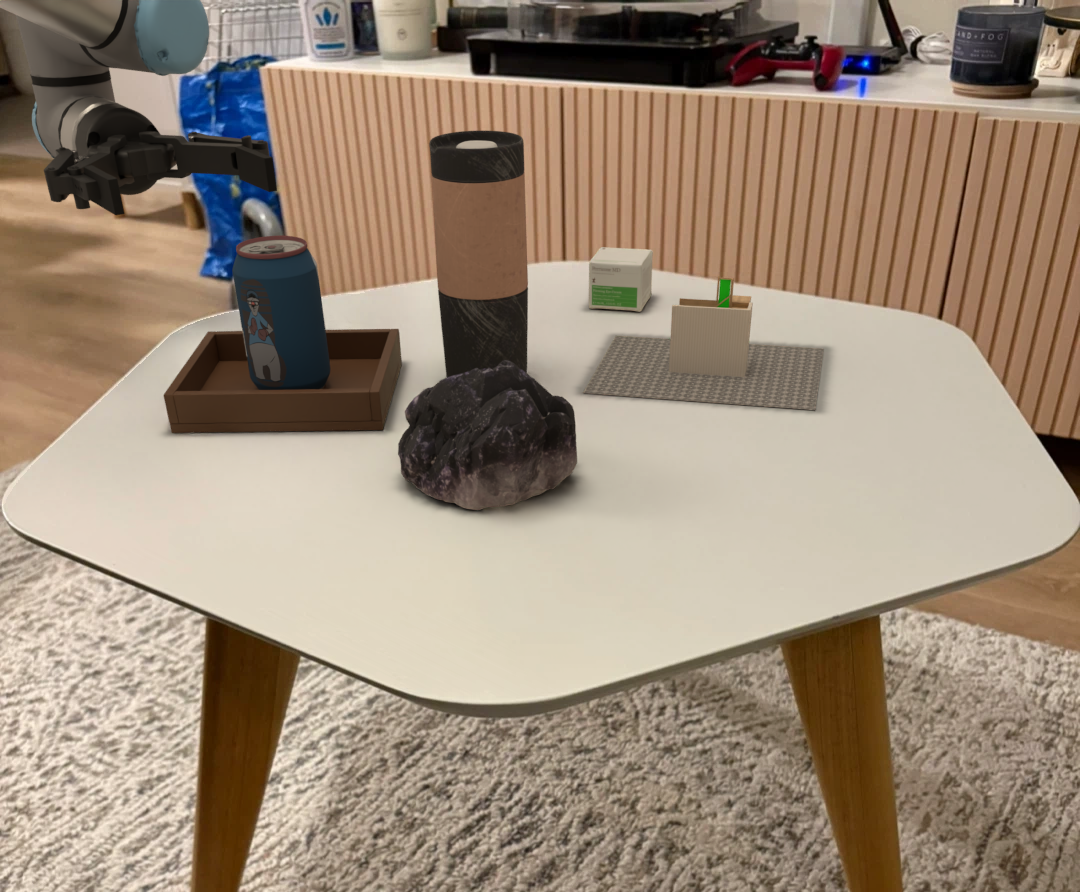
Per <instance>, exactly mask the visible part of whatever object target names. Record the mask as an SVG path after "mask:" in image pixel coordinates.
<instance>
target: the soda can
mask: <svg viewBox="0 0 1080 892" xmlns="http://www.w3.org/2000/svg"><path fill="white" fill-rule="evenodd" d="M235 250H236V256H235V258H234V262H233V266H232V269H231V271H232V278H233V283H234V290H235V295H236V301H237V307H238V314H239V318H240V319H239V320H240V325H241V329H242V330H241V331H242V332H243V338H244V344H245V350H246V356H247V362H248V368H249V374H250V378H251V380H252V382H253V383H254V384H255V386H256V387H257V388H258V389H259V390H303V389H323V388H324V386H325V384H326V382H327V379H328V377H329V374H330V370H331V369H330V361H329V353H328V346H327V338H326V330H327V329H326V323H325V315H324V309H323V308H324V307H323V301H322V300H323V299H322V293H321V291H322V290H321V284H320V277H319V276H320V275H319V269H318V268H319V267H318V262H317V261H316V259H315V257H314V256H313V254H312V253H311V251H310V250H309V248H308V242H307V241H306V239H304V238H301V237H298V236H292V235H268V236H267V235H266V236H259V237H258V236H257V237H254V238H250V239H247V240H243V241H241V242H239V243H238V244H237V245H236V246H235Z"/></svg>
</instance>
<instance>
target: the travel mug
mask: <svg viewBox="0 0 1080 892" xmlns="http://www.w3.org/2000/svg"><path fill="white" fill-rule="evenodd" d="M428 146H429V155H430V157H429V159H430V172H431V190H432V193H431V194H432V207H433V208H432V209H433V211H432V212H433V226H434V227H433V228H434V243H435V244H434V245H435V247H434V248H435V262H436V263H435V264H436V281H437V282H436V283H437V289H438V290H437V293H438V304H439V313H440V314H439V315H440V325H441V336H442V347H443V357H444V367H445V376H446V377H445V378H447V377H450V376H453V375H457V374H461V373H465V372H468V371H471V370H473V369H475V368H478V369H479V370H480V369H484V368H487V369H488V367H489V368H490V369H493V368H495V367H496V366H498V364H499V363H501V362H502V361H503V360H509V361H511V362H513V363H514V364H515V365H517V366H518V367H519V368H520V369H521V370H523V371H525V372H526V373H527V374H528V333H529V331H528V329H529V327H528V326H529V322H528V321H529V319H528V318H529V287H528V285H529V276H528V275H529V274H528V273H529V271H528V241H527V237H528V236H527V211H526V208H527V207H526V205H527V204H526V177H525V176H526V173H525V144H524V139H523V137H522V136H521V135H519V134H517V133H514V132H509V131H500V130H463V131H461V130H460V131H454V132H447V133H443V134H439V135H436V136H433V137H432V138H431V139H430V140H429V143H428Z"/></svg>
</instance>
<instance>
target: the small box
mask: <svg viewBox="0 0 1080 892" xmlns="http://www.w3.org/2000/svg"><path fill="white" fill-rule="evenodd" d="M653 255H654V251H653V250H652V249H645V248H627V247H625V248H624V247H609V246H601V247H599V249H598V250H597V252H596V253H595V254H594V255H593V257H592V258H590V260H589V263H588V265H589V266H588V308H589V309H593V310H595V309H601V310H602V309H603V310H616V311H617V310H619V311H633V312H640V313H641V312H642V310H643V309H644V307H645V306H646V304H647V302H648V301H649V300H650V298H651V296H652V290H653V289H652V286H653V285H652V281H653V260H654V259H653Z"/></svg>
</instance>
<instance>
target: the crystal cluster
mask: <svg viewBox="0 0 1080 892" xmlns="http://www.w3.org/2000/svg"><path fill="white" fill-rule="evenodd" d="M404 415H405V419H406V421H407V424H408V427H407V429H406V430H405V431H404V432H403V434H402V436H401V437H400V439H399V441H398V444H397V455H398V458H399V461H400V474H401V475H402V477H403V478H404V479H405V481H408V482H409V483H411V484H412V485H414V486H415V487H416V489H418V490H420V491H421V492H422V493H423V494H425V495H427V496H430V497H431V498H434V499H435V500H440V501H443V502H445V503H450V504H451V503H452V504H456V506H459V507H460V508H464V509H467V510H474V511H481V510H483V509H486V508H497V507H506V506H510V505H515V504H518V503H519V502H521V501H526V500H527V501H528V499H530V498H533V497H535V496H539V495H542V494H543V493H545V492H547V491H549V490H554V489H555V488H556V487H558V486H559V485H560V483H562V482H563V481H564V480H565V479H566V478H567V477H570V475H571V474H572V473H573V472H574V471H575V468H576V465H577V464H578V449H577V431H576V418H575V417H576V415H575V410H574V406H573V405H572V404H571V403H570V402H569V401H568V400H567V399H566V398H565V397H564V396H560V395H552V393H551V392H549V391H548V390H547V388H545V387H544V386H543V385H542V384H541V383H539V382H538V381H537V380H536V378H534V377H532V376H531V375H530V374H528V372H527V373H526V372H525V371H523V370H521V369H520V368H519V367H518V366H517V365H515V364H514V363H513V362H511V361H509V360H503V361H502V362H501V363H499V364H498V366H496V367H495V368H493V369H490V368H489V367H488V369H487V368H484V369H480V370H479V369H478V368H475V369H473V370H471V371H468V372H465V373H461V374H457V375H453V376H450V377H445V378H443V379H440V380H438V381H437V383H435V384H434V385H433V386H429V387H426V388H424V389H422V390H421V392H419V394H417V395H416V396H415V397H413V398H412V400H411V401H410V402H409V404H408V405H407V406H406V408H405V410H404Z"/></svg>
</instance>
